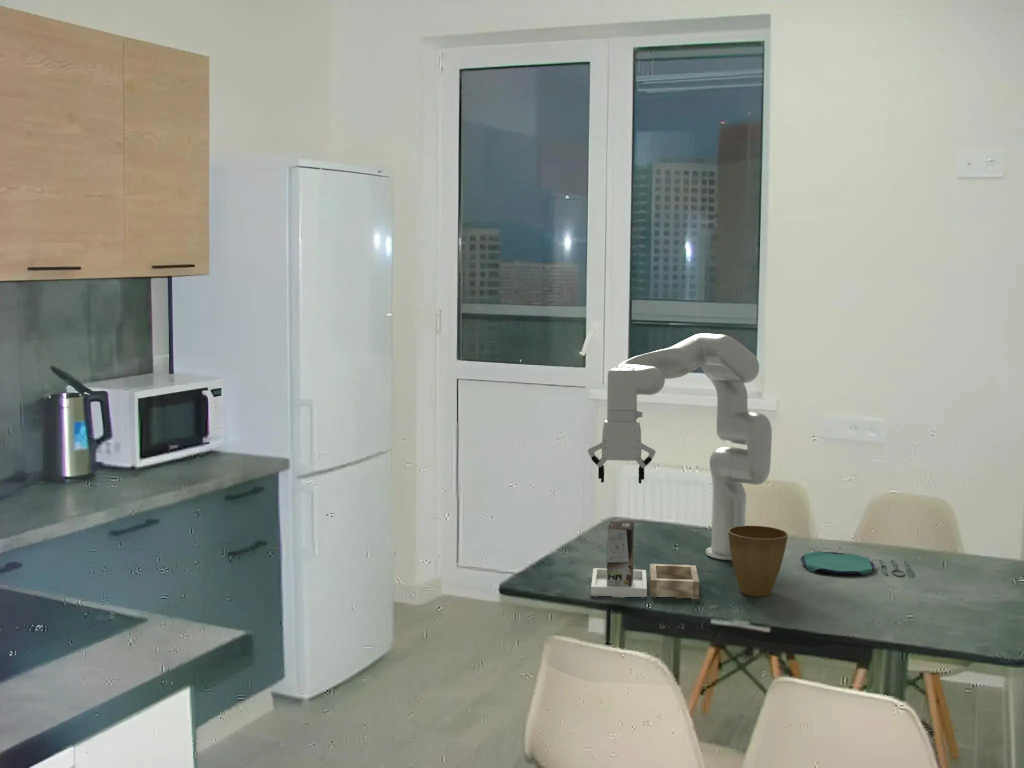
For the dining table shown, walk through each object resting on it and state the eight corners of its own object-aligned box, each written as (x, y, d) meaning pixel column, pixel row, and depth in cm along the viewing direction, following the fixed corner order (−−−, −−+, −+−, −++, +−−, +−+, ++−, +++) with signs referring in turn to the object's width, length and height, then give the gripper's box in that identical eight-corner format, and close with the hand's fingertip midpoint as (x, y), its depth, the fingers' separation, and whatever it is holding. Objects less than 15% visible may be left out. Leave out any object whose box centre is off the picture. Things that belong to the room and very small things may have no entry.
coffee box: (631, 591, 273) (632, 529, 272) (605, 589, 275) (606, 528, 273) (633, 581, 282) (634, 521, 281) (609, 579, 284) (610, 520, 282)
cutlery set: (798, 555, 311) (799, 548, 311) (907, 564, 304) (908, 556, 304) (801, 575, 292) (801, 567, 291) (917, 585, 285) (918, 576, 285)
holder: (695, 581, 284) (695, 565, 283) (698, 599, 269) (699, 581, 268) (649, 580, 285) (649, 563, 284) (650, 597, 270) (650, 579, 270)
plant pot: (783, 604, 265) (785, 540, 264) (723, 597, 270) (724, 535, 268) (788, 587, 279) (790, 527, 278) (730, 581, 284) (731, 522, 282)
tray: (645, 579, 286) (645, 569, 286) (646, 598, 269) (646, 588, 269) (593, 577, 288) (593, 568, 287) (590, 596, 271) (591, 586, 271)
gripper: (655, 414, 276) (654, 479, 278) (588, 413, 278) (588, 478, 280) (656, 418, 269) (655, 485, 271) (587, 417, 271) (586, 484, 273)
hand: (621, 481), depth 276 cm, fingers open, 9 cm apart
